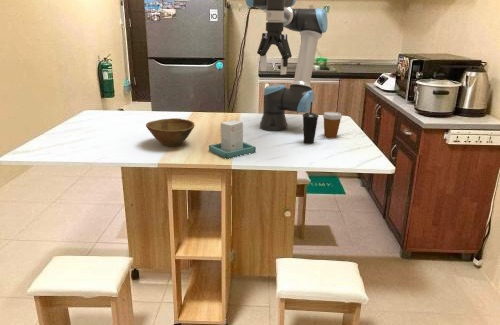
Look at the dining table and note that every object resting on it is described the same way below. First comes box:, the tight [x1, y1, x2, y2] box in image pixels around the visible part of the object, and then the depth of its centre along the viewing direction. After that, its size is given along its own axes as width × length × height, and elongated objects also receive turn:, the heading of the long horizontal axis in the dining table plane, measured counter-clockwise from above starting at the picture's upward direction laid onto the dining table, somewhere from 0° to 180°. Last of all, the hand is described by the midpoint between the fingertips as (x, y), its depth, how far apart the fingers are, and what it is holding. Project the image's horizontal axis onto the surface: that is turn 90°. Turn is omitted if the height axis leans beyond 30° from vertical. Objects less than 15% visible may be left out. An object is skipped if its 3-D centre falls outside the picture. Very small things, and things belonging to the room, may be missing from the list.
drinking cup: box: [302, 102, 319, 145], centre depth 196 cm, size 8×8×20 cm
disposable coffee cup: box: [322, 111, 343, 139], centre depth 208 cm, size 10×10×12 cm
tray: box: [208, 141, 257, 160], centre depth 183 cm, size 14×16×3 cm
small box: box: [220, 119, 244, 152], centre depth 182 cm, size 8×6×13 cm
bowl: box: [145, 117, 195, 147], centre depth 192 cm, size 22×23×10 cm
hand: (273, 72), depth 179 cm, fingers open, 13 cm apart
